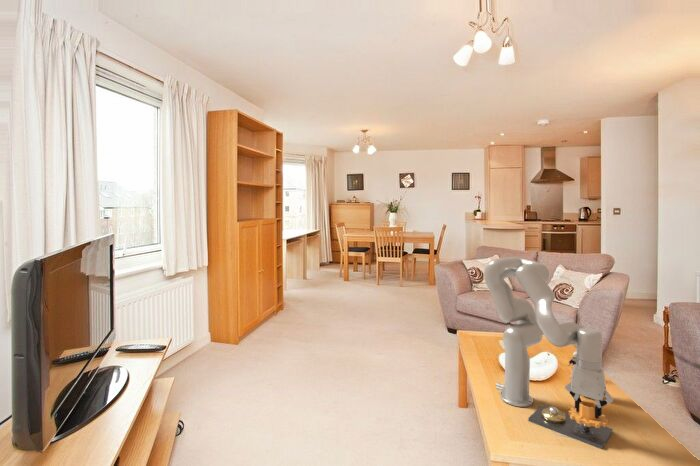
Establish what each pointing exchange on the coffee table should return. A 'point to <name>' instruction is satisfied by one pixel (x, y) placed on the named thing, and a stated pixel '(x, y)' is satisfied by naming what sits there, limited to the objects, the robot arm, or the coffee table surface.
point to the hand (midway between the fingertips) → (587, 413)
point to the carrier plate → (570, 426)
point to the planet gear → (588, 415)
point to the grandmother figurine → (572, 362)
